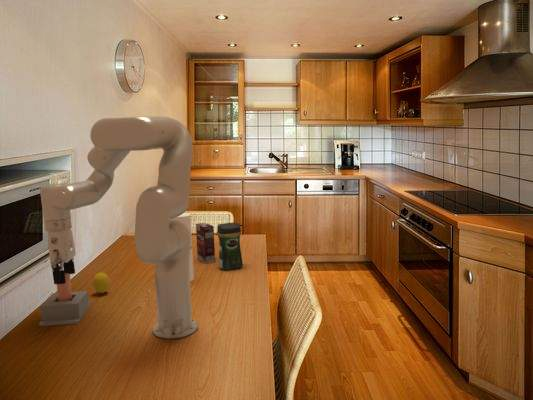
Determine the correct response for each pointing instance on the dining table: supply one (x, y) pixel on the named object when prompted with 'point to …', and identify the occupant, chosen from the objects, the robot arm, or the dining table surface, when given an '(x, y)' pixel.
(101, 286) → the lemon
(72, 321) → the socket
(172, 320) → the robot arm
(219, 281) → the dining table surface
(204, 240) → the supplement box
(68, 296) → the peg
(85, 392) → the dining table surface
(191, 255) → the cylindrical container
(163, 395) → the dining table surface
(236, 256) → the coffee jar
